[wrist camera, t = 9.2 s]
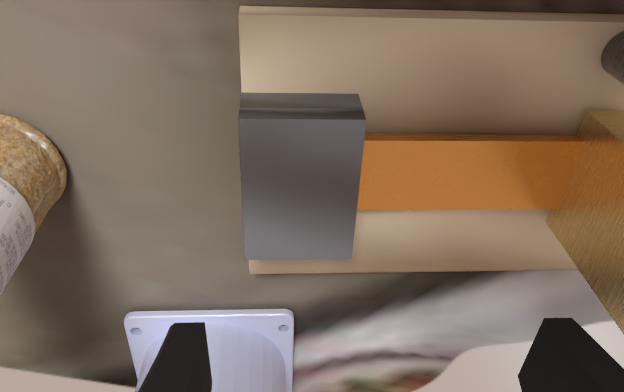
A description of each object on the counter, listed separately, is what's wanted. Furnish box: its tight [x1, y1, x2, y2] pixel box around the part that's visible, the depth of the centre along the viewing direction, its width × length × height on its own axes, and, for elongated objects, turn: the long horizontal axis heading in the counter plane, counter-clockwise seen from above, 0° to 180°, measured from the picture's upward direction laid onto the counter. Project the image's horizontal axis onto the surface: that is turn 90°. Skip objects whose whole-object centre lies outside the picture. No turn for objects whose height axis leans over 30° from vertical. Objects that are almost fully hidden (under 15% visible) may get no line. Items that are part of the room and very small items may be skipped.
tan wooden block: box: [357, 110, 624, 334], centre depth 17 cm, size 5×11×7 cm, turn 88°
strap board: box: [238, 6, 624, 274], centre depth 20 cm, size 11×20×3 cm, turn 88°
